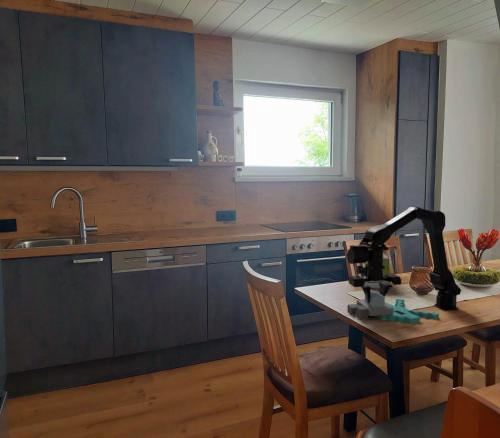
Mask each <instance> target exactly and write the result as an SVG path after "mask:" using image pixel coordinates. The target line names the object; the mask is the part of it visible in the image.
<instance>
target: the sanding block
mask: <svg viewBox="0 0 500 438" xmlns="http://www.w3.org/2000/svg"><path fill="white" fill-rule="evenodd" d="M385 302H386V296H385V297H384V296H383V295H381V294H380V292H379V291H377V290H373V291H372V290H371V294H370V303H368V302H367V300H366V297H365V296H364V298H363V299H356V304H358V305H359V306H365V307H366V308H367V309H368V316H370V317H372V316H374V317H375V316H377V315H391V314H393V310H394V309H393V308H391V307H390V306H388V305H387V304H386V303H387V302H386V303H385Z"/></svg>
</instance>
